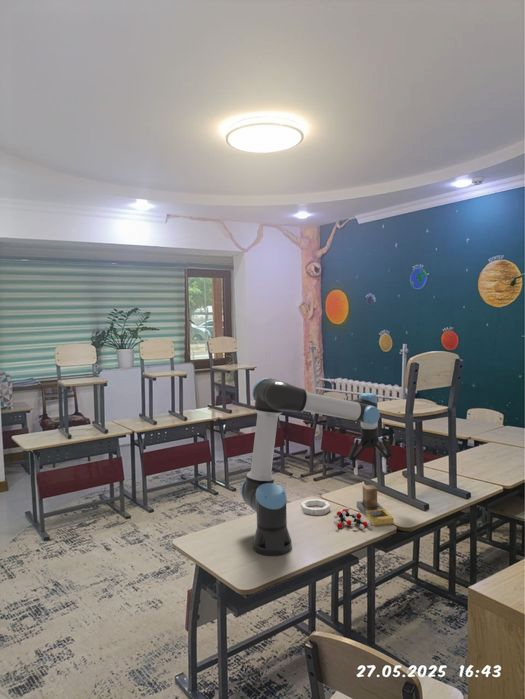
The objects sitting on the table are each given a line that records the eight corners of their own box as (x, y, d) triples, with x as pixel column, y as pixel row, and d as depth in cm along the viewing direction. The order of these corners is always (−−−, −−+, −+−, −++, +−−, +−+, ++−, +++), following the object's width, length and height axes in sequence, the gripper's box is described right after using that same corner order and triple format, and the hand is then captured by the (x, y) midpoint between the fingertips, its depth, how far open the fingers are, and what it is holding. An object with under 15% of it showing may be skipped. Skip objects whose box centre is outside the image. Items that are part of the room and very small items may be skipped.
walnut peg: (366, 513, 221) (366, 489, 221) (362, 508, 226) (362, 485, 226) (377, 512, 222) (377, 488, 221) (373, 508, 227) (372, 484, 226)
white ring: (305, 516, 220) (305, 510, 220) (299, 505, 232) (299, 500, 232) (332, 513, 222) (332, 508, 222) (324, 503, 234) (324, 498, 234)
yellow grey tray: (373, 525, 208) (373, 519, 208) (356, 506, 229) (356, 501, 229) (393, 523, 210) (393, 517, 210) (374, 505, 230) (374, 499, 230)
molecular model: (336, 516, 219) (370, 511, 216) (338, 540, 209) (373, 536, 206) (331, 501, 214) (365, 496, 211) (333, 526, 204) (369, 521, 200)
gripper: (345, 431, 216) (346, 478, 218) (398, 427, 220) (399, 473, 221) (340, 427, 224) (341, 473, 225) (391, 423, 227) (392, 468, 229)
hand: (370, 473), depth 223 cm, fingers open, 13 cm apart
